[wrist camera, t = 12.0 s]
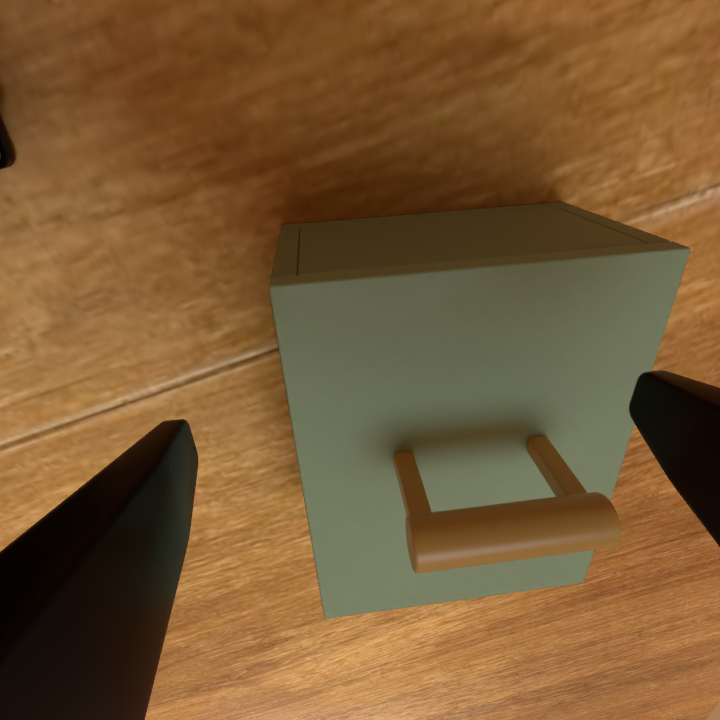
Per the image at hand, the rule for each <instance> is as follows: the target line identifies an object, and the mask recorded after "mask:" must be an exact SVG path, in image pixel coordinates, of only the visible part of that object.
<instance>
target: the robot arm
mask: <svg viewBox="0 0 720 720" xmlns="http://www.w3.org/2000/svg"><path fill="white" fill-rule="evenodd" d="M0 154H1V159H0V169H3V168H8V167H11V166H12V164H13V163H14V160H15V157H14V152H13V150H12V147H11V145H10V143H9V140H8V138H7V135H6V133H5V130H4V128H3V125H2V123H1V120H0ZM629 413H630V416H631V418H632V420H633V422H634V423H635V425H636V426H637V428H638V430H639V431H640V433H641V435H642V436H643V438H644V440H645V441H646V443H647V444H648V446H649V448H650V449H651V451H652V453H653V454H654V456H655V458H656V459H657V461H658V462H659V464H660V466H661V467H662V469H663V471H664V472H665V474H666V475H667V477H668V478H669V480H670V481H671V483H672V484H673V485H674V487H675V488H676V490H677V491H678V492H679V494H680V495H681V496H682V498H683V499H684V500H685V502H686V503H687V504H688V506H689V507H690V508H691V510H692V511H693V512H694V513H695V515H696V516H697V517H698V519H699V520H700V521H701V523H702V524H703V525H704V527H705V528H706V529H707V531H708V532H709V533H710V535H711V536H712V537H713V539H714V540H715V541H716V543H717V544H718V545H719V547H720V388H718V387H715V386H712V385H709V384H705V383H702V382H699V381H696V380H693V379H690V378H686V377H683V376H680V375H677V374H674V373H670V372H667V371H661V370H660V371H651V372H644V373H642V374H641V375H640V376H639V377H638V379H637V382H636V385H635V388H634V391H633V394H632V397H631V400H630V404H629ZM197 469H198V454H197V450H196V447H195V443H194V440H193V436H192V433H191V430H190V426H189V424H188V422H187V421H186V420H184V419H180V420H170V421H164V422H162V423H160V424H159V425H158V426H156V427H155V428H154V429H153V430H151V431H150V432H149V433H148V434H146V435H145V436H144V437H143V438H141V439H140V440H139V441H138V442H137V443H135V444H134V445H133V446H132V447H130V448H129V449H128V450H127V451H125V452H124V453H123V454H122V455H120V456H119V457H118V458H117V459H115V460H114V461H113V462H112V463H110V464H109V465H108V466H107V467H105V468H104V469H103V470H102V471H100V472H99V473H98V474H97V475H95V476H94V477H93V478H92V479H90V480H89V481H88V482H87V483H85V484H84V485H83V486H82V487H80V488H79V489H78V490H77V491H75V492H74V493H73V494H72V495H70V496H69V497H68V498H67V499H65V500H64V501H63V502H62V503H61V504H59V505H58V506H57V507H56V508H54V509H53V510H52V511H51V512H49V513H48V514H47V515H46V516H44V517H43V518H42V519H41V520H39V521H38V522H37V523H36V524H34V525H33V526H32V527H31V528H29V529H28V530H27V531H26V532H24V533H23V534H22V535H21V536H19V537H18V538H17V539H16V540H14V541H13V542H12V543H11V544H9V545H8V546H7V547H6V548H4V549H3V550H2V551H1V552H0V720H145V716H146V712H147V708H148V704H149V700H150V696H151V692H152V688H153V684H154V680H155V676H156V671H157V667H158V663H159V659H160V655H161V651H162V647H163V643H164V639H165V635H166V631H167V627H168V623H169V619H170V615H171V610H172V606H173V602H174V598H175V594H176V590H177V586H178V582H179V578H180V574H181V570H182V566H183V562H184V558H185V554H186V549H187V545H188V540H189V534H190V527H191V519H192V511H193V502H194V494H195V486H196V478H197Z"/></svg>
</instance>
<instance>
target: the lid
mask: <svg viewBox="0 0 720 720" xmlns="http://www.w3.org/2000/svg"><path fill="white" fill-rule="evenodd" d="M689 253H690V248H689V247H686V246H683V245H680V244H678V243H675V242H663V243H651V244H640V245H629V246H618V247H607V248H595V249H584V250H573V251H562V252H551V253H539V254H528V255H517V256H506V257H495V258H484V259H472V260H461V261H450V262H439V263H428V264H416V265H405V266H394V267H383V268H372V269H360V270H349V271H338V272H327V273H316V274H304V275H293V276H282V277H272V278H270V283H269V294H270V300H271V306H272V311H273V317H274V323H275V329H276V335H277V341H278V347H279V353H280V359H281V365H282V371H283V377H284V382H285V388H286V394H287V400H288V406H289V412H290V418H291V424H292V430H293V436H294V442H295V447H296V453H297V459H298V465H299V471H300V477H301V483H302V489H303V495H304V501H305V507H306V513H307V518H308V524H309V530H310V536H311V542H312V548H313V554H314V560H315V566H316V572H317V578H318V584H319V589H320V595H321V601H322V607H323V613H324V618H325V619H327V618H335V617H342V616H349V615H356V614H363V613H371V612H378V611H385V610H392V609H399V608H407V607H414V606H421V605H428V604H435V603H443V602H450V601H457V600H464V599H471V598H479V597H486V596H493V595H500V594H507V593H515V592H522V591H529V590H536V589H543V588H551V587H558V586H565V585H572V584H579V583H584V580H585V577H586V574H587V571H588V568H589V565H590V562H591V559H592V555H593V552H594V550H597V549H604V548H612V547H615V546H616V545H617V544H618V543H619V541H620V537H621V527H620V521H619V518H618V515H617V512H616V510H615V508H614V506H613V505H612V503H611V502H610V499H611V496H612V493H613V490H614V487H615V484H616V480H617V477H618V474H619V471H620V468H621V465H622V462H623V459H624V455H625V452H626V449H627V446H628V443H629V440H630V437H631V434H632V430H633V427H634V424H635V423H634V422H633V420H632V418H631V416H630V413H629V404H630V400H631V397H632V394H633V391H634V388H635V385H636V382H637V379H638V377H639V376H640V375H641V374H642V373H644V372H651V371H652V368H653V365H654V362H655V359H656V356H657V352H658V349H659V346H660V343H661V340H662V337H663V334H664V331H665V327H666V324H667V321H668V318H669V315H670V312H671V309H672V306H673V302H674V299H675V296H676V293H677V290H678V287H679V284H680V281H681V278H682V274H683V271H684V268H685V265H686V262H687V259H688V256H689Z"/></svg>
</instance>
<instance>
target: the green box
mask: <svg viewBox="0 0 720 720" xmlns="http://www.w3.org/2000/svg"><path fill="white" fill-rule="evenodd" d="M663 242H670V241H669V240H666V239H663V238H661V237H658V236H655V235H652V234H650V233H647V232H644V231H641V230H639V229H636V228H633V227H630V226H628V225H625V224H622V223H619V222H617V221H614V220H611V219H608V218H606V217H603V216H600V215H597V214H595V213H592V212H589V211H586V210H584V209H581V208H578V207H575V206H573V205H570V204H567V203H565V202H554V203H542V204H530V205H518V206H505V207H493V208H481V209H469V210H457V211H445V212H432V213H420V214H408V215H396V216H384V217H371V218H359V219H347V220H335V221H323V222H310V223H298V224H286V225H282V226H281V231H280V236H279V240H278V245H277V250H276V255H275V260H274V264H273V269H272V274H271V278H272V277H282V276H293V275H304V274H316V273H327V272H338V271H349V270H360V269H372V268H383V267H394V266H405V265H416V264H428V263H439V262H450V261H461V260H472V259H484V258H495V257H506V256H517V255H528V254H539V253H551V252H562V251H573V250H584V249H595V248H607V247H618V246H629V245H640V244H651V243H663Z"/></svg>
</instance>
